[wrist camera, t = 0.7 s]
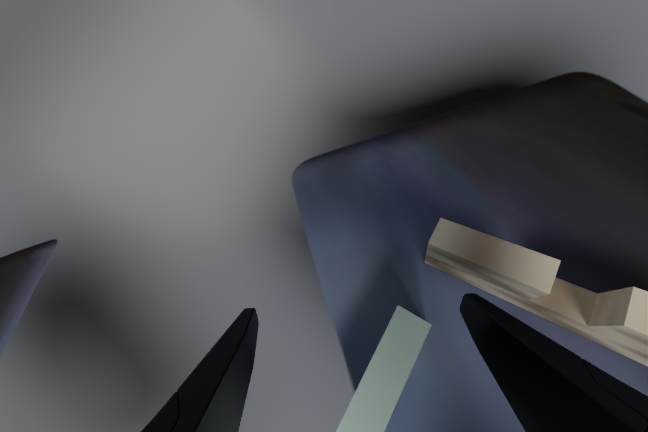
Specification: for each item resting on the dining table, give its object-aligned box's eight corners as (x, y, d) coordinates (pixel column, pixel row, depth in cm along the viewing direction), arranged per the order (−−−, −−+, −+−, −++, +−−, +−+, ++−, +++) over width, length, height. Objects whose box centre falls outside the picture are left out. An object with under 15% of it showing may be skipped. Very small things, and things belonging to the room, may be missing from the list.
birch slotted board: (725, 362, 14) (894, 379, 9) (720, 400, 14) (896, 440, 9) (434, 242, 23) (440, 217, 18) (424, 262, 23) (428, 243, 18)
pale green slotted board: (401, 310, 22) (398, 304, 17) (426, 326, 20) (431, 324, 15) (324, 468, 19) (292, 520, 14) (349, 497, 17) (324, 565, 12)
